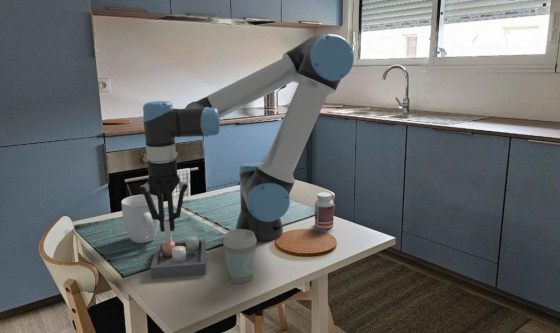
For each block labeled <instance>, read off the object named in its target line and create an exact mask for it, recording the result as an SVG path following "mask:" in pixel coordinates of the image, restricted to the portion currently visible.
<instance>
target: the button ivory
mask: <svg viewBox="0 0 560 333" xmlns="http://www.w3.org/2000/svg"><path fill="white" fill-rule="evenodd" d="M172 259H173V262H175V263H181V262H184V261H185V260H186V248H185V247H184V246H176V247H174V248H172Z"/></svg>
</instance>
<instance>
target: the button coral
mask: <svg viewBox="0 0 560 333" xmlns="http://www.w3.org/2000/svg"><path fill="white" fill-rule="evenodd" d="M174 247H175V242H174V240H172V241H171V243H168V244H166V242H165V241H163V243H162V255H163V256H167V257H168V256H172V248H174Z"/></svg>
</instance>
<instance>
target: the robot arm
mask: <svg viewBox="0 0 560 333" xmlns="http://www.w3.org/2000/svg"><path fill="white" fill-rule="evenodd" d="M354 54H355V53H354V51H353V48H352V46H351V44H350V43H349V41H348V40H347V39H346V38H344V37H343V36H341V35H339V34H334V33H324V34H321V35H316V36H315V35H314V36H312V37H309V38H308V39H306V40H305V41H303V42H301V43H300V44H299V45H297V46H295V47H293V48H292V49H290V50H288V51H286V52H285V53H283V55H282V57H281V58H279V59H278V60H276V61H274V62H272V63H270V64H268V65H266V66H264V67H262V68H260V69H258V70H256V71H255V72H254V71H253V72H251V73H250V74H248V75H246V76H244V77H242V78H240V79H238V80H236V81H234V82H232V83H230V84H228V85H226V86H224V87H223V88H220V89H218V90H216V91H214V92H212V93H210V94H208V95H207V96H205V97H202V98H201V99H198V100H197V101H192V102H190V103H188V104H187V105H186V107H184V108H174V107H173V103H172V101H168V100H167V101H165V100H163V101H162V100H160V101H159V100H156V101H155V100H154V101H148V102H146V103H144V104H143V108H142V112H143V114H142V115H143V120H142V121H143V128H144V129H143V130H144V138H145V150H146V159H147V172H148V178H147V182H146V183H144V184H141V185H140V187H139V191H140V193H141V194H142V195H144V196H145V199H146V202H147V205H148V207H149V210H150V213H151V216H152V218H153V219H154V220H159V221H160V223H159V227H160V228H159V229H160V232H164V238H165V240H164V242H166V244H168V243H171V241H173V238H172V236H173V235H172V232H174V231H175V229H176V224H175V220H176V219H179V218H180V217H181V212H182V206H183V201H184V197H185V192H186V191H187V189H188V187H189V183H188V182H187V181H182V180H181V178H180V176H179V174H178V165H177V164H178V163H177V160H176V157H177V152H176V138H188V137H189V138H190V137H206V138H207V137H210V136H211V137H212V136H216V135H219V133H220V128H221V127H220V119H221V118H223V117H225V116H227V115H229V114H231V113H233V112H235V111H238V110H240V109H241V108H243V107H245V106H247V105H249V104H251V103H254V102H255V101H257V100H260V99H261V98H264V97H265V96H267V95H269V94H271V93H274V92H275V91H278V90H279V89H281V88H283V87H285V86H287V85H289V84H291V83H297V85H296V86H297V87H296V89H295V91H294V94H293V95H292V98H291V100H290V103H289V104H288V106H287V109H286V112H285V114H284V116H283V119H282V121H281V123H280V126H279V128H278V131H277V133H276V135H275V137H274V140H273V142H272V144H271V146H270V149H269V152H268V154H267V156H266V158H265V160H264V162H262V161H261V162H260V161H258V162H257V161H256V162H247V163H246V162H245V163H242V164H241V165H240V166H239V173H238V175H239V193H240V195H239V196H240V199H239V200H240V201H239V202H240V212H239V215H238V219H237V221H236V225H235V230H236V229H246V230H250V231H252V232H254V234H255V237H256V240H257V242H266V241H272V240H275V239H278V238H279V237H281V236H282V235H283V234H284V230H283V229H284V225H283V222H282V217H284V216H285V214H287V212H288V210H289V207H290V204H291V197H290V194H291V191H292V190H293V186H294V184H295V182H296V180H295V178H294V171H295V169H296V167H297V165H298V162H299V160H300V158H301V156H302V154H303V151H304V149H305V146H306V144H307V143H308V140H309V138H310V135H311V134H312V131H313V128H314V127H315V124H316V122H317V120H318V118H319V116H320V113H321V111H322V108H323V106H324V104H325V102H326V99H327V98H328V96H330V95H331V94H333V93H334V94H335V93H336V91H337V89H338V86H339V85H340V82H341V80H342V79H343V78H345V77H346V76H348V74H349V73H350V72H351V71H352V69H353V66H354V60H355V57H354V56H355V55H354ZM177 187H178V189H179V195H178V200H177V205H176V211H174V209H175V208H174V198H173V196H174V195H173V192H174V191H175V190H176V188H177ZM150 189H152V190H153V192H154V193H156V196H157V199H158V210H159V214H158V213H157V211H156V208H155V205H154V202H153V199H152V197H151V195H152V194H151V191H150ZM164 194H166V199H167V200H166V201H167V209H168V211H167V212H168V217H165V216H166V214H165V205H164V203H165V202H164ZM280 235H281V236H280Z"/></svg>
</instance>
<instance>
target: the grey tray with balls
mask: <svg viewBox="0 0 560 333" xmlns="http://www.w3.org/2000/svg"><path fill="white" fill-rule="evenodd" d="M198 240H199V250H198V251H195V252H188V251H186V260H185V261H184V262H181V263H175V262H173V259H172V256H168V257H167V256H163V255H162V243H163V242H164V241H163V242H161V241H160V242H156V245H155V249H154V254H153V257H152V259H151V260H152V261H151V264H150V278H151V279H165V278H175V277H176V278H177V277H187V276H199V275H200V276H201V275H207V239H198ZM173 241H174V240H173ZM174 242H175V247H176V246H184V247H185V248H186V240H175V241H174Z"/></svg>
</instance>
